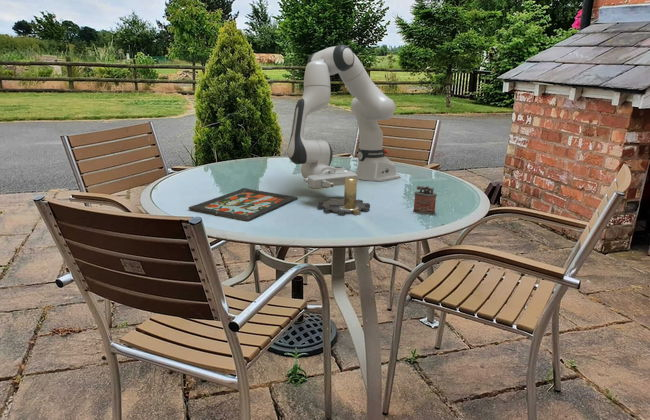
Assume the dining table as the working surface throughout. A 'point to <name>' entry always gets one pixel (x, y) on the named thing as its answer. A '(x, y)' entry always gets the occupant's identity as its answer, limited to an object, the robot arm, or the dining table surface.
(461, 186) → the dining table surface
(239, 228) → the dining table surface
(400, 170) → the dining table surface
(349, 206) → the pin
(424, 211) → the lighter
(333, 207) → the sprocket plate
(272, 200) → the painting
